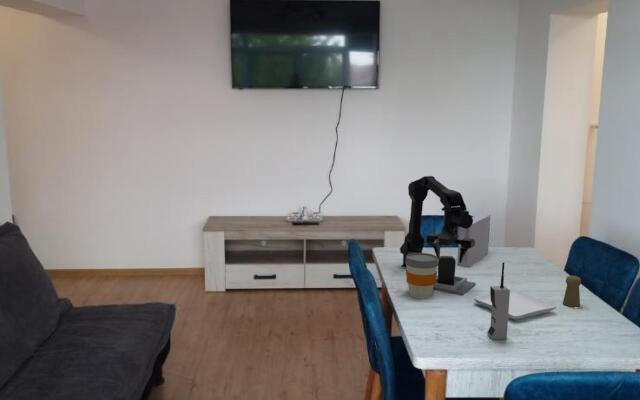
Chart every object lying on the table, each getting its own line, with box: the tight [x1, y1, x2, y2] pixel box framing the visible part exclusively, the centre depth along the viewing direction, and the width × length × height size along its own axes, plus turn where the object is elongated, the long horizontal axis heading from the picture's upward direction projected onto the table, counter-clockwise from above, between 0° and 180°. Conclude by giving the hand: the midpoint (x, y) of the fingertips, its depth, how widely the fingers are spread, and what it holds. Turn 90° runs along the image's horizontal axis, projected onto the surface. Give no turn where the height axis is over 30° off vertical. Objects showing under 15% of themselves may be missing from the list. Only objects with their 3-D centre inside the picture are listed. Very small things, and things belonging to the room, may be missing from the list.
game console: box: [456, 213, 491, 268], centre depth 268 cm, size 6×27×20 cm, turn 145°
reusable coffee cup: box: [405, 252, 438, 299], centre depth 221 cm, size 13×13×15 cm
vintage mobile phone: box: [486, 262, 510, 341], centre depth 180 cm, size 4×5×25 cm
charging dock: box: [433, 275, 476, 296], centre depth 231 cm, size 18×15×2 cm
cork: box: [562, 275, 582, 309], centre depth 210 cm, size 6×6×11 cm
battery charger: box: [437, 255, 457, 284], centre depth 231 cm, size 7×4×11 cm, turn 83°
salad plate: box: [472, 288, 557, 320], centre depth 207 cm, size 21×21×3 cm
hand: (449, 261), depth 230 cm, fingers open, 9 cm apart
